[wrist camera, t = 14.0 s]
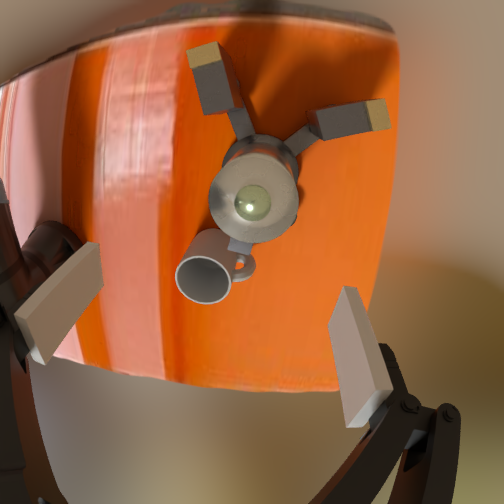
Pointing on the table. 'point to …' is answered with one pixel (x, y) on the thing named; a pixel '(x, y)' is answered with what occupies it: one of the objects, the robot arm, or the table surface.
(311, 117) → the tan-tipped grey block
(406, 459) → the robot arm
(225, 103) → the grey rectangular block
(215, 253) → the cup
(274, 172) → the stand
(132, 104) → the table surface
